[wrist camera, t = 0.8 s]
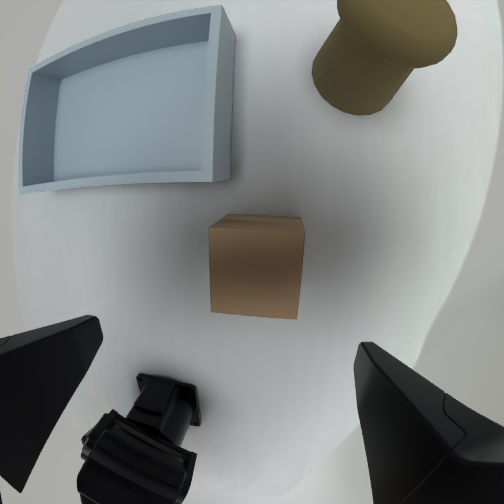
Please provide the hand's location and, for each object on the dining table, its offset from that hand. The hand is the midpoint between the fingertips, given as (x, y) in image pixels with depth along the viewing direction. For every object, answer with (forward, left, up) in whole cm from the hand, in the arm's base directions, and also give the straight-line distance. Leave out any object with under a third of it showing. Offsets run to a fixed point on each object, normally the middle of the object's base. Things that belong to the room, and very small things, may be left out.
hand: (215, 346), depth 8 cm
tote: (+10, +11, -12) cm, 19 cm away
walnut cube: (0, 0, -12) cm, 12 cm away
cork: (+13, -6, -12) cm, 19 cm away
